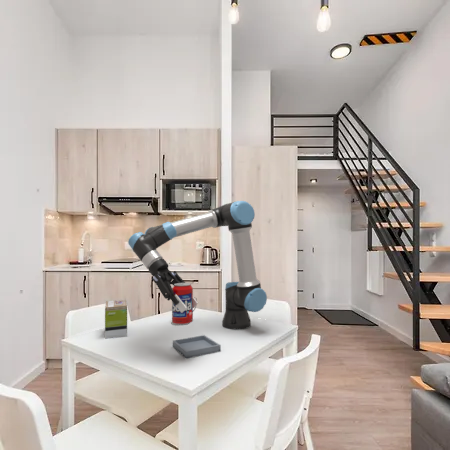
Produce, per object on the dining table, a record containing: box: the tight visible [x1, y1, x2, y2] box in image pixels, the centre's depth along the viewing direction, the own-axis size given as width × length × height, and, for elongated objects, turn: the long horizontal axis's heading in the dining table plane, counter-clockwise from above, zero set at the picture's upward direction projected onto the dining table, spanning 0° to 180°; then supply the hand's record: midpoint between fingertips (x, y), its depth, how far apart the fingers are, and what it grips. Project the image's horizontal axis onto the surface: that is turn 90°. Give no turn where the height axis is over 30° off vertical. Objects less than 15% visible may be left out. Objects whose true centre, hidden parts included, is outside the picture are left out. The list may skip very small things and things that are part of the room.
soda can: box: [171, 282, 194, 326], centre depth 114 cm, size 8×8×15 cm
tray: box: [172, 334, 222, 359], centre depth 124 cm, size 15×15×2 cm
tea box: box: [104, 299, 128, 339], centre depth 145 cm, size 15×10×15 cm, turn 21°
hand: (190, 307), depth 113 cm, fingers closed on soda can, 8 cm apart
